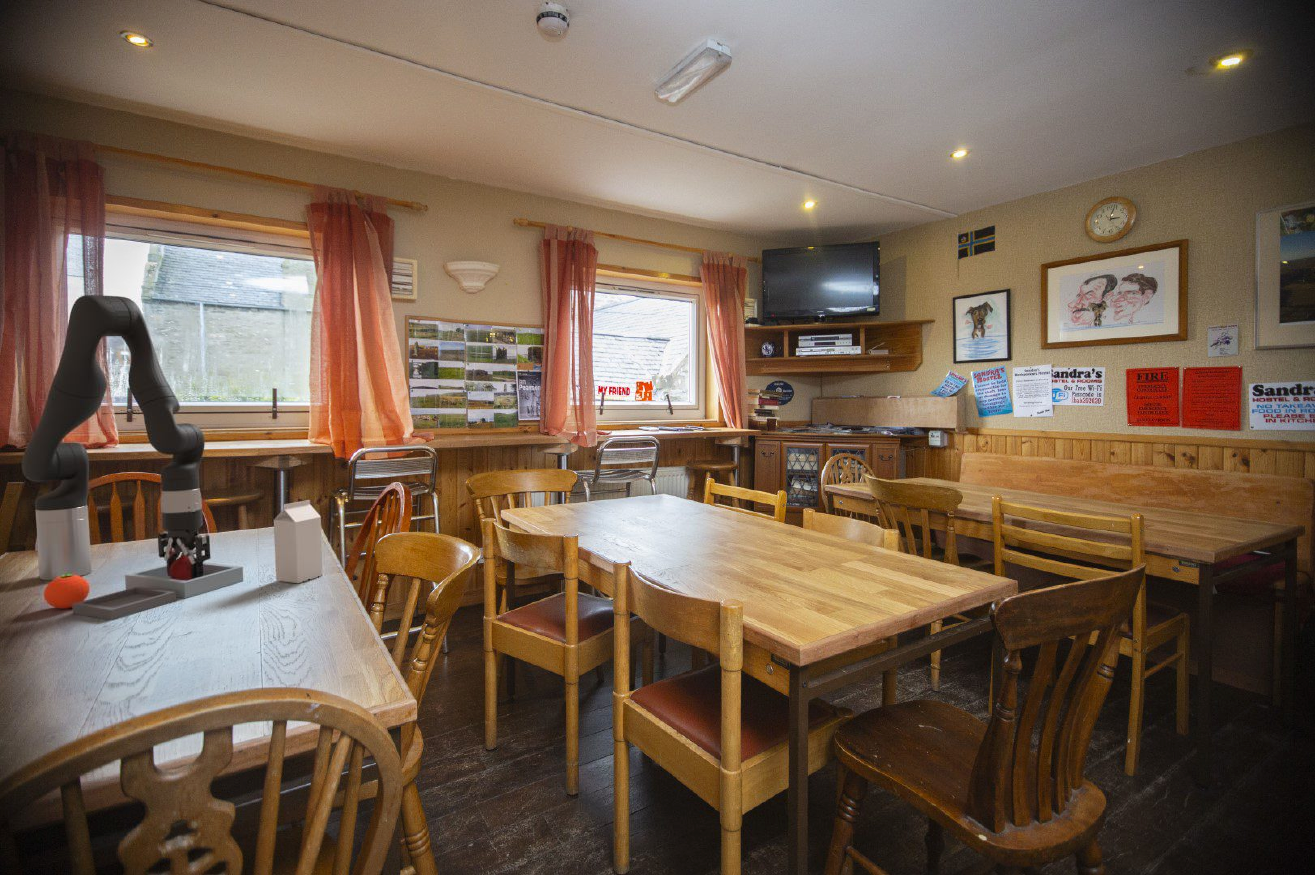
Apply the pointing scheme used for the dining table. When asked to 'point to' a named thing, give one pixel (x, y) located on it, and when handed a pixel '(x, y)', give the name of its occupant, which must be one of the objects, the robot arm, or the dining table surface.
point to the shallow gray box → (210, 580)
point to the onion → (181, 568)
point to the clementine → (66, 591)
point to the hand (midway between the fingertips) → (185, 576)
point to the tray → (123, 603)
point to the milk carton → (298, 543)
